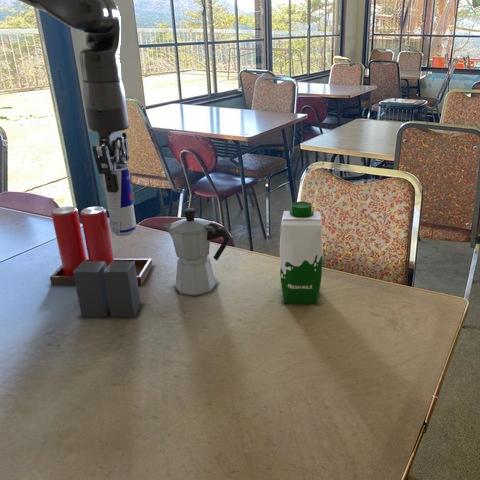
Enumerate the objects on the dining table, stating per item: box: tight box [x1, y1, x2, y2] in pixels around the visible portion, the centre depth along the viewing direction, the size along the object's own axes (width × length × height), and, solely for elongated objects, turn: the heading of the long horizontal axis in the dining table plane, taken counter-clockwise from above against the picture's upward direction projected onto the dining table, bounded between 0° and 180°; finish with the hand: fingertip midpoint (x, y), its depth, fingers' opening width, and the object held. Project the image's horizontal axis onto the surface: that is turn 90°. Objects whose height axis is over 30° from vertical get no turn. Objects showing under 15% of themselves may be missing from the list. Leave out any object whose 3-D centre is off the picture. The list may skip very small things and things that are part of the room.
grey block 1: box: [73, 261, 110, 318], centre depth 94 cm, size 4×4×10 cm
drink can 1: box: [50, 205, 88, 276], centre depth 105 cm, size 5×5×15 cm
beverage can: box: [102, 164, 137, 237], centre depth 102 cm, size 5×5×15 cm
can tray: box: [49, 258, 153, 287], centre depth 109 cm, size 19×9×2 cm, turn 93°
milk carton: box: [279, 201, 324, 305], centre depth 100 cm, size 9×9×20 cm
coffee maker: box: [162, 207, 232, 297], centre depth 102 cm, size 15×9×18 cm, turn 80°
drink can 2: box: [80, 206, 115, 266], centre depth 106 cm, size 5×5×15 cm
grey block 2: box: [103, 261, 142, 318], centre depth 94 cm, size 4×4×10 cm
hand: (117, 187), depth 101 cm, fingers closed on beverage can, 5 cm apart
